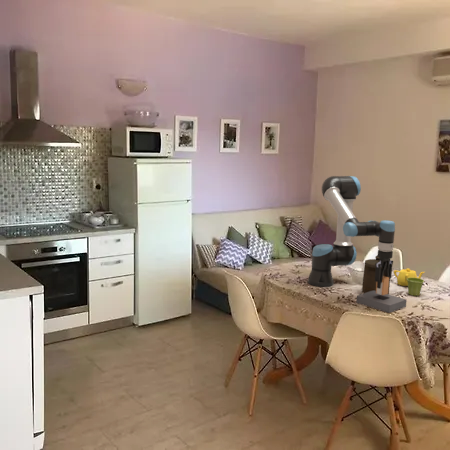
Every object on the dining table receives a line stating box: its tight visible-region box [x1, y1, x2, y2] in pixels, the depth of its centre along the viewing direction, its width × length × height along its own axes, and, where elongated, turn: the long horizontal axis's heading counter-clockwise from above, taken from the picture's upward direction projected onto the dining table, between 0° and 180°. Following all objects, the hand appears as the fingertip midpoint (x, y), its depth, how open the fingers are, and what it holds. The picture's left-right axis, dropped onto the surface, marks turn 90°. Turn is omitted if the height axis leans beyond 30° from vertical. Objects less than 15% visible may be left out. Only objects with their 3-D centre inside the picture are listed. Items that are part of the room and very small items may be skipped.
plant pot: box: [407, 278, 425, 297], centre depth 295 cm, size 9×9×9 cm
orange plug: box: [376, 276, 390, 295], centre depth 274 cm, size 4×4×9 cm
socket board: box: [355, 290, 408, 314], centre depth 275 cm, size 20×16×4 cm
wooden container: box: [361, 254, 391, 295], centre depth 295 cm, size 15×15×22 cm
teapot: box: [393, 268, 425, 287], centre depth 313 cm, size 14×13×10 cm
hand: (381, 292), depth 275 cm, fingers closed on orange plug, 4 cm apart
